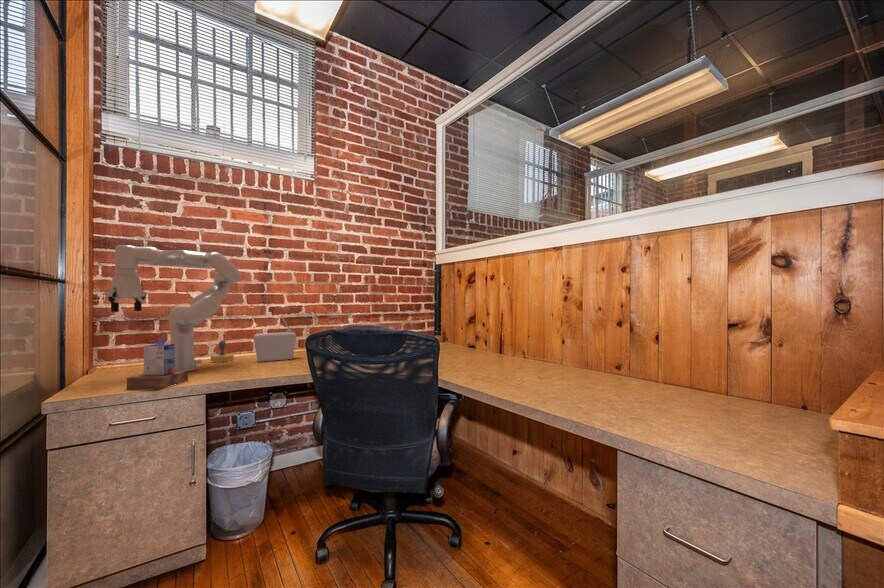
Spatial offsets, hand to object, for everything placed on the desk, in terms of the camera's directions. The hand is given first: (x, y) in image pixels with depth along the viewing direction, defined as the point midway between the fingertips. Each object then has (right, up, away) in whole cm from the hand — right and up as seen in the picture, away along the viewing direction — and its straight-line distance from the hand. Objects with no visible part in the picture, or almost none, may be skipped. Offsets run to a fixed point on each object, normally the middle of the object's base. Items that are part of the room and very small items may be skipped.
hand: (126, 311), depth 157 cm
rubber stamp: (+17, -31, +42) cm, 54 cm away
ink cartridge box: (+23, -26, -10) cm, 36 cm away
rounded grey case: (+45, -31, +46) cm, 71 cm away
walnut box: (+23, -31, -11) cm, 40 cm away
